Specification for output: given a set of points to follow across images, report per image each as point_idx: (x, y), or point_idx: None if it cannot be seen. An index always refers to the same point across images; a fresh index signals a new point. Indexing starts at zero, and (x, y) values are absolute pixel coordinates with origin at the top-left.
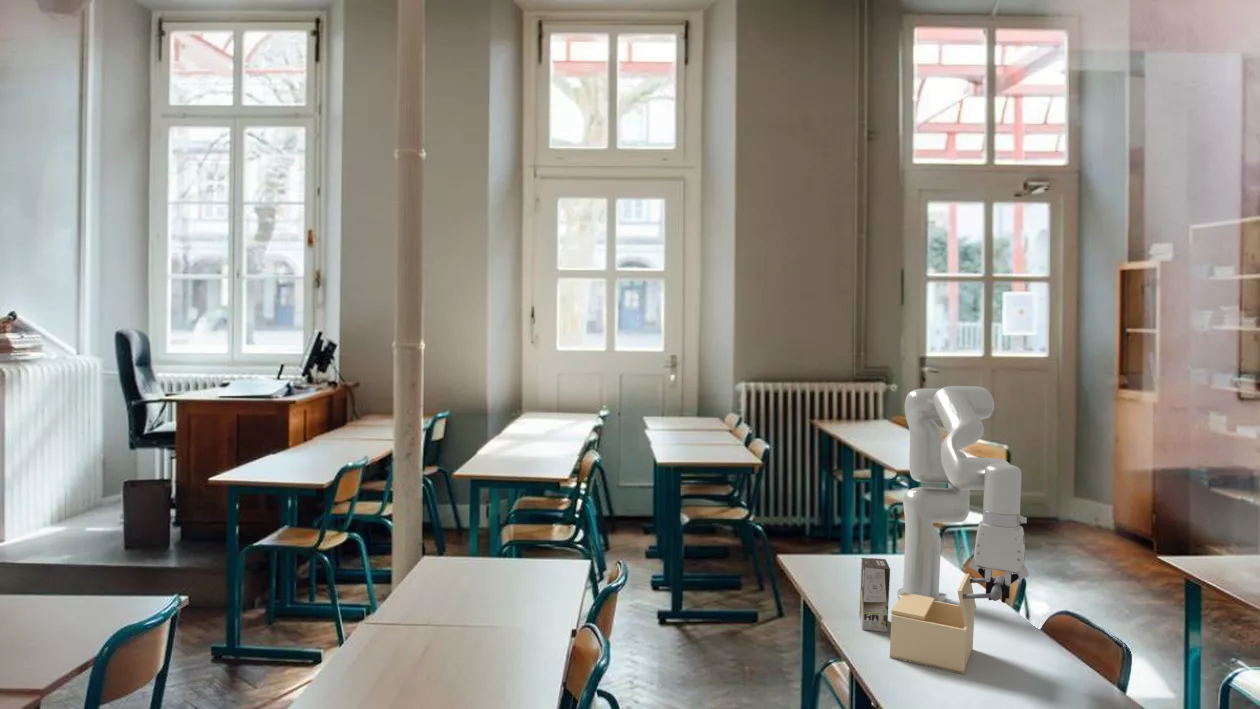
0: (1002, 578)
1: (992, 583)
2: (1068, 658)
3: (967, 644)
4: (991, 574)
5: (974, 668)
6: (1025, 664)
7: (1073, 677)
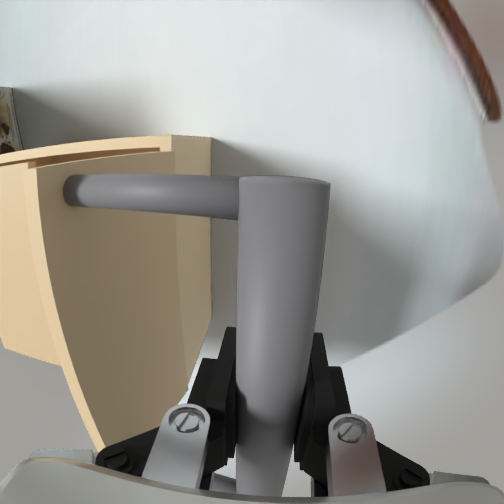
0: (305, 280)
1: (231, 456)
2: (450, 81)
3: (197, 302)
4: (205, 455)
5: (230, 271)
6: (355, 173)
7: (453, 204)
